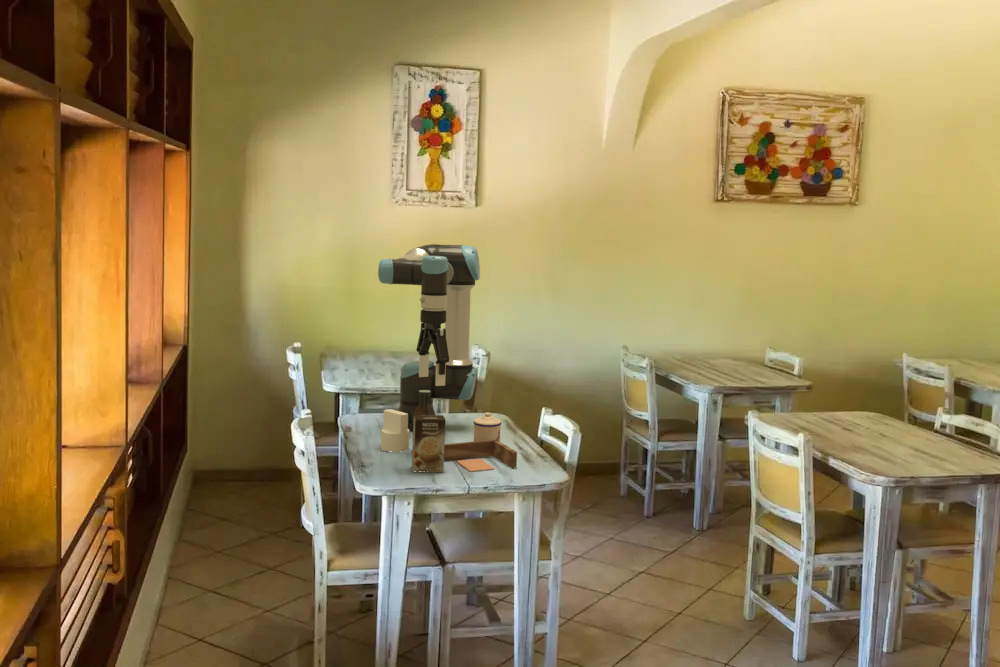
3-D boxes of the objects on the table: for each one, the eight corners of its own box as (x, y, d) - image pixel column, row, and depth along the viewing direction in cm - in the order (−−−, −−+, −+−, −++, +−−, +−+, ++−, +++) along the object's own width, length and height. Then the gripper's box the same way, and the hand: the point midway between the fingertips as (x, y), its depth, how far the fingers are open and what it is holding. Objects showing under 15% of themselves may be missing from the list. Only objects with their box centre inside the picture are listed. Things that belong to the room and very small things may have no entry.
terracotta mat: (456, 462, 273) (456, 460, 273) (480, 459, 276) (480, 458, 276) (470, 472, 263) (470, 470, 263) (494, 469, 266) (494, 468, 266)
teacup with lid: (502, 451, 286) (503, 416, 285) (474, 451, 285) (475, 416, 283) (496, 441, 298) (498, 407, 297) (470, 441, 297) (471, 407, 295)
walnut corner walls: (443, 459, 275) (443, 444, 274) (495, 454, 282) (496, 439, 282) (461, 473, 261) (462, 457, 261) (516, 467, 269) (517, 452, 268)
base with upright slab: (414, 448, 286) (415, 412, 284) (393, 453, 279) (394, 416, 278) (396, 443, 292) (397, 407, 290) (375, 447, 285) (375, 411, 284)
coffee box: (413, 473, 260) (414, 419, 258) (411, 466, 266) (412, 414, 264) (444, 472, 262) (445, 419, 260) (441, 466, 268) (443, 414, 266)
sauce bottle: (427, 456, 278) (429, 394, 275) (409, 453, 280) (410, 391, 278) (436, 450, 284) (437, 390, 282) (418, 448, 286) (419, 388, 284)
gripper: (406, 304, 267) (405, 373, 270) (437, 314, 245) (435, 390, 248) (430, 304, 270) (428, 372, 273) (462, 314, 248) (460, 388, 251)
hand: (431, 381), depth 261 cm, fingers open, 13 cm apart
